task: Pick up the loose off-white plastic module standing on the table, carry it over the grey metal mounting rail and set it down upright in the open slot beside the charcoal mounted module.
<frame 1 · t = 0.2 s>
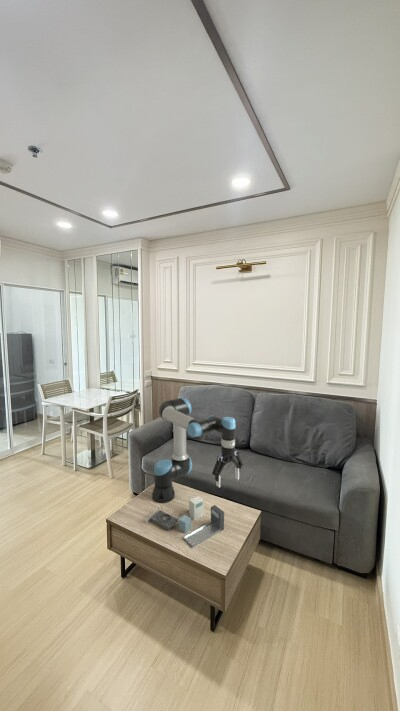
hand: (227, 482, 160), 27 cm above the table, fingers open, 13 cm apart
graphics card: (162, 523, 167), on the table
rail: (204, 533, 158), on the table
module: (196, 515, 174), on the table
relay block: (184, 528, 162), on the table
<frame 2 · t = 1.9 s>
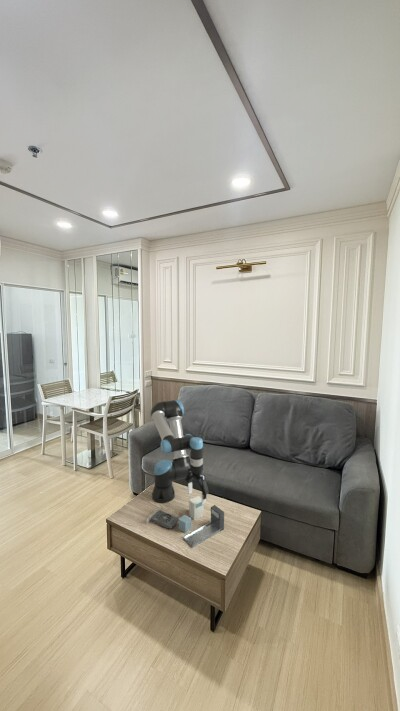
hand: (196, 498, 172), 11 cm above the table, fingers open, 13 cm apart
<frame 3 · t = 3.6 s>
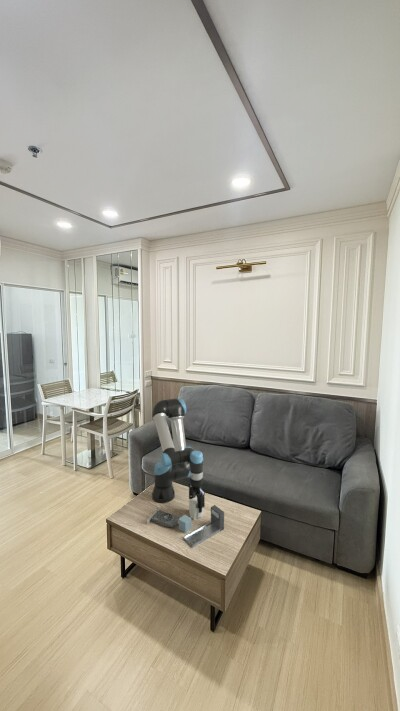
hand: (196, 514, 173), 1 cm above the table, fingers closed on module, 5 cm apart
module: (196, 515, 174), on the table, touching gripper
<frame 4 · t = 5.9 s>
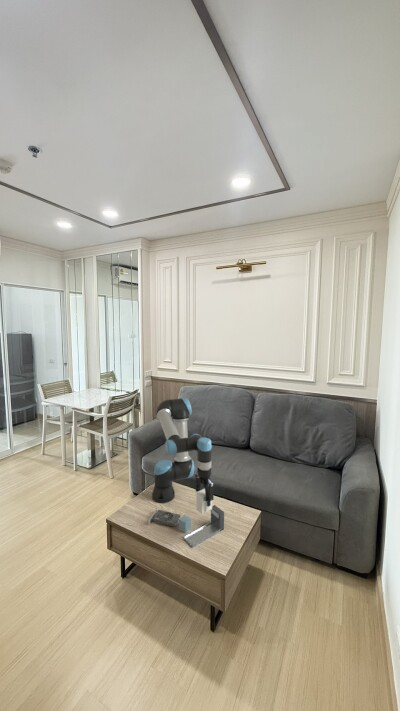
hand: (204, 507, 156), 15 cm above the table, fingers closed on module, 5 cm apart
module: (204, 509, 157), point 14 cm above the table, touching gripper
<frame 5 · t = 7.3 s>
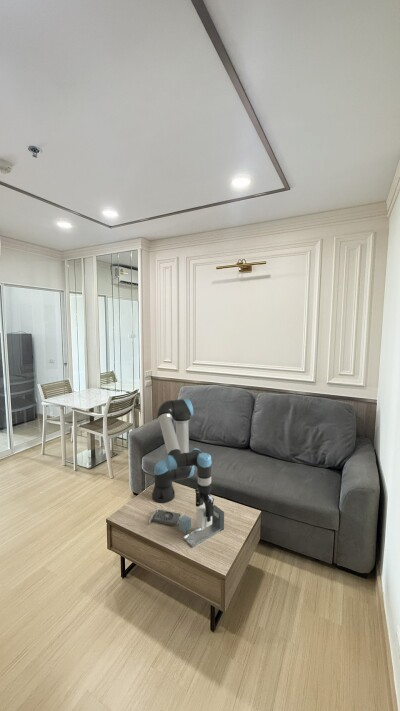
hand: (204, 523, 157), 6 cm above the table, fingers closed on module, 5 cm apart
module: (204, 524, 157), point 6 cm above the table, touching gripper
when the fingers open (3 cm above the table, at t = 8.4 s): module stays where it is, resting on rail.
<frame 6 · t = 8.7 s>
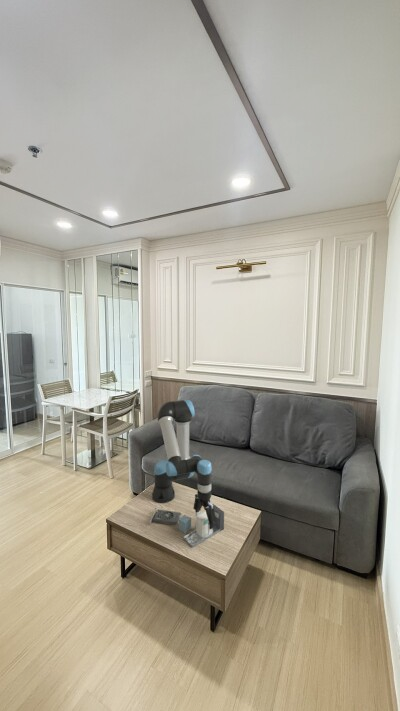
hand: (204, 528, 158), 3 cm above the table, fingers open, 9 cm apart
module: (204, 532, 158), point 1 cm above the table, touching rail
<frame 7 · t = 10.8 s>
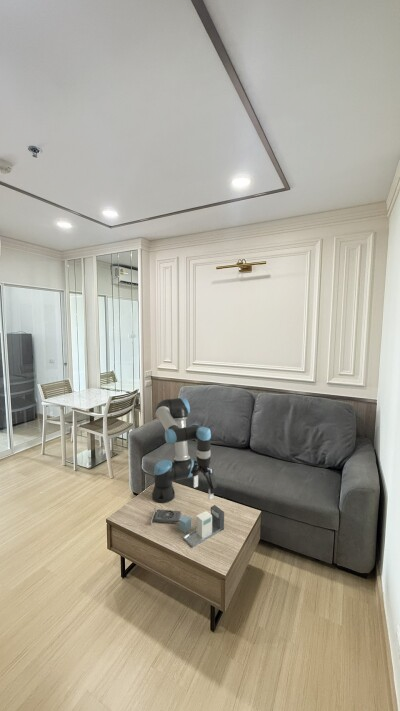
hand: (203, 492, 159), 22 cm above the table, fingers open, 13 cm apart
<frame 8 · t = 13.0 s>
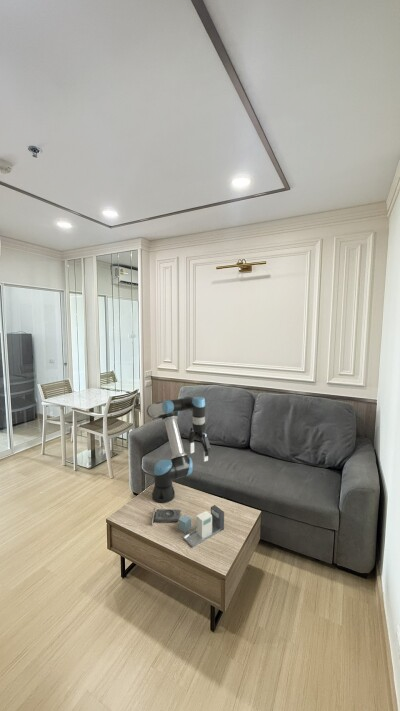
hand: (198, 456, 175), 35 cm above the table, fingers open, 13 cm apart
at the end: module inside the target area on the rail (1.0 cm from its centre), point 0.8 cm above the rail's base; module tilted 0°; the gripper is holding nothing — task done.
